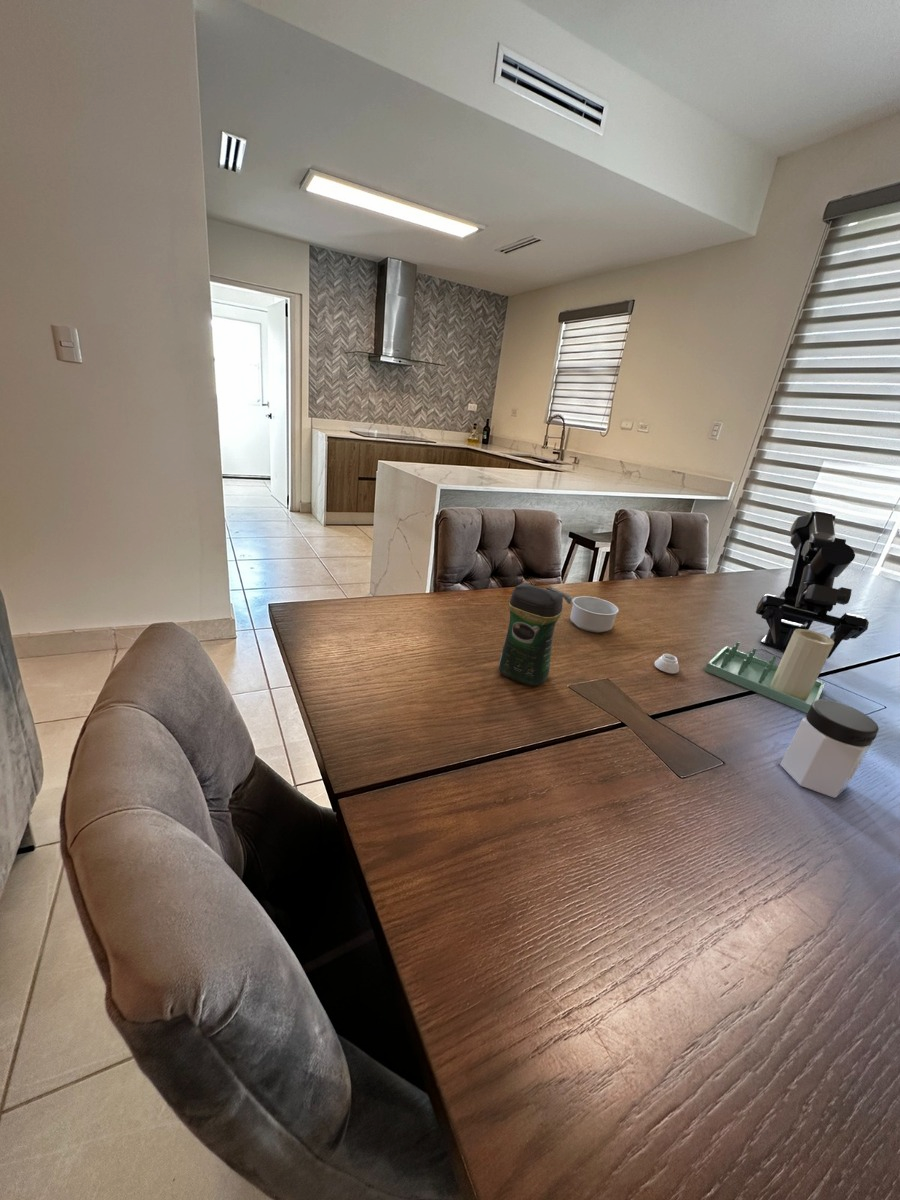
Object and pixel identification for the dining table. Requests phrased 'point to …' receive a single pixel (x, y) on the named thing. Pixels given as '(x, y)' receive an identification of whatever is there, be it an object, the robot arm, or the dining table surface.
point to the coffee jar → (530, 634)
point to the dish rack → (757, 676)
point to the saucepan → (590, 612)
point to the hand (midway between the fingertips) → (801, 650)
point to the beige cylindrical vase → (802, 663)
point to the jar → (829, 747)
